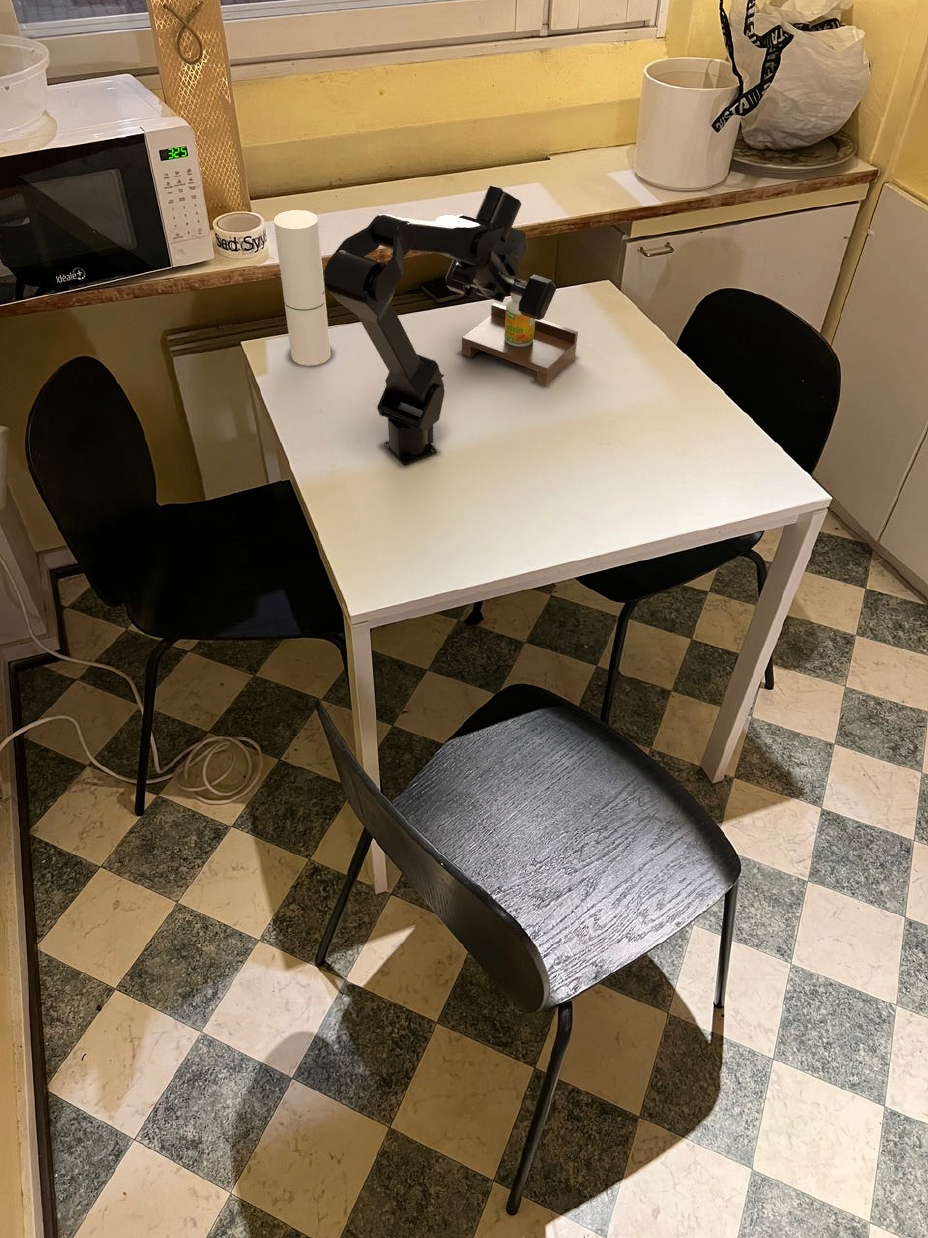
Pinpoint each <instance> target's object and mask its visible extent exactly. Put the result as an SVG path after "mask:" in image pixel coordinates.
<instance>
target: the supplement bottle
mask: <svg viewBox="0 0 928 1238" xmlns="http://www.w3.org/2000/svg"><path fill="white" fill-rule="evenodd" d="M517 286H518V285H517ZM523 288H524V287H523ZM521 297H522V296H519V295H516V294H513V293H510V298H509V299H508V300H507V301H506V305H505V307H506V319H505V333H504V339H505V341H506V342H507V343H508V344H510V345H512V346H516V347H524V346H528V345H530V344H531V343H532V342H533V339H534V330H535V319H533V318H530V317H527V316H524V315H522V313H520V312H519V310H518V309H519V302H520V299H521Z"/></svg>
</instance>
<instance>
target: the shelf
mask: <svg viewBox="0 0 928 1238" xmlns="http://www.w3.org/2000/svg"><path fill="white" fill-rule="evenodd" d="M505 319H506V305H505V306H504V305H501V304H499V303H496V302H494V303H492V304H491V307H490V315H489V316H488V317H486V318H485V319H484V320H482V321H481V322H480V323H479V324H478V325H476V326H475V327H474V328H472V329H471V330H470V331H468V332H467V333H466V334H464V335H463V336H462V337H461V355H463V356H465V357H467V358H472V357H473V356H474V355H475V354H477V353H478V352H479V351H481V352H485V353H488V354H490V355H493V356H494V357H495V356H496V357H499V358H501V359H505V360H507V361H510V362H512V363H514V364H517V365H520V366H523V367H525V368H528V369H531V370H533V371H536V378H535V379H536V380H535V382H536V383H537V384H539V385H543V386H547V385H548V384H549V383H550V382H551V381H552V380H553V379H554V378H556V377H557V376H558V375H559V374H560V373H561V372H562V371H563V370H564V369H566V368H567V367H568V365H570V364H571V363H572V362H574V360H575V359H576V354H577V353H576V352H577V345H578V343H577V342H578V337H579V331H577V330H574V329H571V328H568V327H566V326H563V325H559V324H557V323H554V322H550V321H547V320H545V319H541V320H537V319H535V330H534V339H533V342H532V343H531V344H530V345H528V346H524V347H516V346H512V345H510V344H508V343H507V342H506V341H505V339H504V333H505Z"/></svg>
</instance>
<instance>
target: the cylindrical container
mask: <svg viewBox="0 0 928 1238" xmlns="http://www.w3.org/2000/svg"><path fill="white" fill-rule="evenodd" d="M273 223H274V233H275V240H276V246H277V255H278V263H279V270H280V271H279V272H280V278H281V286H282V294H283V301H284V309H285V317H286V324H287V331H288V340H289V347H290V354H291V359H292V361H294V363H296V364H297V365H302V366H308V367H309V366H319V365H322V364H324V363H326V362H328V360H329V359H330V358H331V353H332V352H331V344H330V343H331V342H330V333H329V321H328V311H327V301H326V291H325V281H324V268H323V259H322V248H321V238H320V237H321V236H320V229H319V218H318V216H317V215H316V213H314V212H311V211H309V210H303V209H293V210H286V211H283V212H280V213H278V214H277V215H275V216H274V218H273Z"/></svg>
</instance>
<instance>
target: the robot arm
mask: <svg viewBox="0 0 928 1238" xmlns="http://www.w3.org/2000/svg"><path fill="white" fill-rule="evenodd" d="M521 207H522V202H521V200H519V199H518V198H516V197H514V196H513V195H511V194H510V193H508V192H506V191H504V190H503V188H502V187H499V186H496V185H493V184H489V187H488V188H487V189H486V192H485V194H484V197H483V199H482V202H481V204H480V206H479V209H478V211H477V213H476V215H475V217H472V216H469V215H465V214H462V213H461V214H458V215H452V214H446V215H442V216H438V217H436V219H435V220H433V221H429V220H421V219H414V218H407V217H398V216H393V215H391V214H387V213H383V214H381V213H380V214H377V215H376V216H375V217H374V218H373V219H372V220H371V222H370V223H369V225H367V227H365V228H363V229H361V230H359V231H358V232H355V233H354V234H352V235H350V236H349V237H347V238H345V239H344V240H343V241H342V243H341V244H340V245H339V246H338V248H337V249H336V250H335V251H334V253H333V254H332V255H331V256H330V258H329V259H328V261H327V263H326V264H325V266H324V267H325V268H324V277H323V279H324V286H325V287H326V290H327V291H328V293H329V294H330V295H331V296H332V297H333V298H334V299H335V300H336V301H337V302H338V303H339V304H340V305H342V306H344V307H345V308H346V309H348V310H349V311H350V312H351V313H353V314H354V315H356V316H357V318H358V319H359V321H360V323H361V325H362V327H363V328H364V330H365V332H366V334H367V335H368V337H369V340H371V342H372V344H373V346H374V348H375V349H376V351H377V353H378V355H379V357H380V358H381V360H382V362H383V363H384V365H385V367H386V369H387V371H388V373H387V376H386V377H385V387H384V390H383V392H382V395H381V397H380V399H379V401H378V404H377V406H376V409H377V410H378V414H379V416H380V417H385V418H387V429H388V440H387V441H384V443H383V446H384V448H385V449H386V450H387V451H388V452H390V453H391V454H392V455H393V456H394V458H396V460H397V461H399V462H400V463H401V464H402V465H404V466H407V465H410V464H412V463H414V462H417V461H420V460H422V459H424V458H427V457H429V456H432V455H434V454H437V452H438V451H437V450H438V449H437V448H436V447H435V446H434V445H433V443H434V425H435V424H436V423H437V422H438V421H439V420H440V418H441V413H442V408H443V402H444V398H445V392H446V391H445V384H444V380H443V378H444V377H445V374H443V373H442V372H441V370H440V366H439V364H438V363H437V361H436V360H434V359H431V358H429V357H426V356H423V355H421V354H418V353H417V352H416V350H415V348H414V346H413V344H412V342H411V340H410V338H409V336H408V334H407V332H406V330H405V328H404V325H403V324H402V322H401V319H400V318H399V316H398V314H397V312H396V310H395V308H394V306H393V304H392V299H393V296H394V294H395V293H396V287H397V286H398V284H400V281H401V280H402V279H403V277H404V265H405V264H404V263H405V257H406V256H407V255H408V253H409V252H413V253H414V252H417V253H427V254H428V253H430V254H438V255H441V256H444V257H446V258H450V259H452V260H451V263H450V266H449V267H448V271H447V273H446V275H445V277H444V279H445V286H446V287H447V288H448V289H449V290H450V291H453V292H456V293H458V294H461V295H464V296H466V297H468V298H478V299H485V300H492V301H496V302H499V303H504V300H505V298H506V297H507V296H508V295H509V294H511V293H513V294H516V295H519V296H522V297H521V299H520V302H519V309H518V310H519V312H520V313H522V315H524V316H527V317H530V318H533V319H537V320H541V319H542V320H544V318H545V316H546V313H547V311H548V309H549V307H550V304H551V303H552V301H553V298H554V295H555V294H556V291H557V287H556V284H555V283H554V282H553V280H552V279H549V278H545V277H543V276H539V275H536V274H533V275H532V276H530V277H529V279H528V281H526V280H522V279H519V278H516V277H518V275H519V272H520V270H521V269H520V267H519V264H520V262H521V261H522V259H523V257H524V255H525V254H526V253H527V252H528V251H529V244H528V239H527V234H526V231H524V230H521V229H519V228H514V227H513V225H514V223H515V221H516V219H517V216H518V214H519V211H520V209H521ZM380 247H383V248H385V249H389V250H392V255H391V258H390V259H389V260H388V261H387V263H384V262H381V261H378V260H374V259H372V258H369V257H366V256H367V255H370V254H371V253H373V252H375V251H377V250H378V249H379V248H380ZM517 285H518V286H517ZM523 287H524V288H523Z"/></svg>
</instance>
